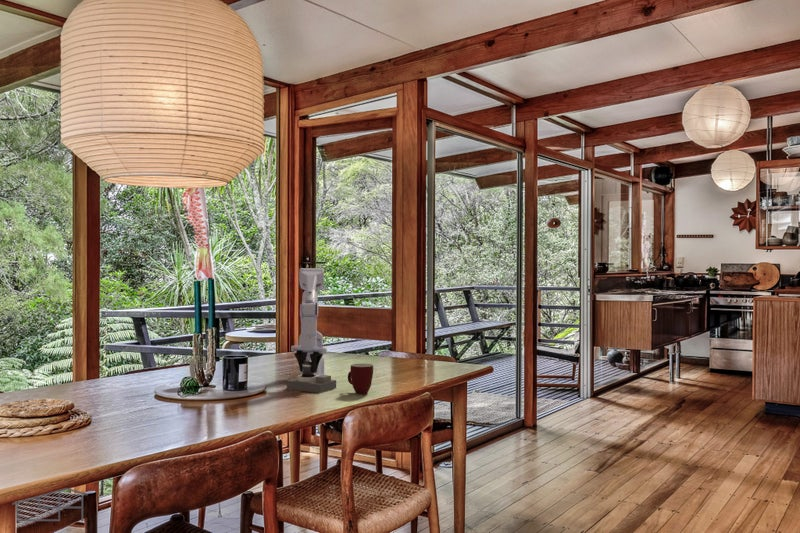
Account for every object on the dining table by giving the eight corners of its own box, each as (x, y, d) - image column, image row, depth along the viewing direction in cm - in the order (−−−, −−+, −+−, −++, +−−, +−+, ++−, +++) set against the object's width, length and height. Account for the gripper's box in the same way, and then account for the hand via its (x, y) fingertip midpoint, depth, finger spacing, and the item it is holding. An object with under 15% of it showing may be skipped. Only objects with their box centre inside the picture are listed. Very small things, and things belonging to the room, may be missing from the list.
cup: (197, 388, 227) (197, 361, 227) (184, 386, 232) (184, 359, 232) (216, 385, 234) (216, 358, 234) (203, 383, 239) (203, 356, 239)
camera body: (303, 384, 238) (303, 371, 238) (336, 388, 232) (336, 374, 232) (286, 388, 230) (286, 375, 230) (320, 393, 223) (320, 378, 223)
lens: (305, 376, 234) (306, 359, 234) (316, 377, 232) (317, 360, 232) (299, 377, 230) (299, 360, 230) (309, 379, 228) (310, 362, 228)
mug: (340, 393, 223) (340, 364, 223) (353, 389, 230) (353, 362, 230) (364, 396, 217) (364, 367, 217) (377, 392, 224) (377, 364, 224)
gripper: (286, 334, 231) (285, 371, 231) (318, 337, 224) (318, 375, 224) (297, 333, 237) (297, 369, 237) (329, 335, 231) (329, 372, 231)
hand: (308, 372), depth 231 cm, fingers closed on lens, 4 cm apart
